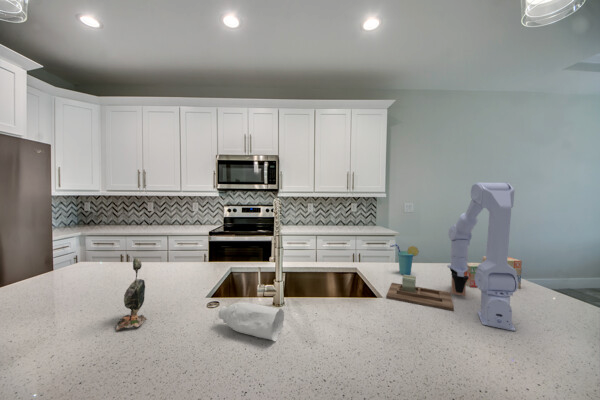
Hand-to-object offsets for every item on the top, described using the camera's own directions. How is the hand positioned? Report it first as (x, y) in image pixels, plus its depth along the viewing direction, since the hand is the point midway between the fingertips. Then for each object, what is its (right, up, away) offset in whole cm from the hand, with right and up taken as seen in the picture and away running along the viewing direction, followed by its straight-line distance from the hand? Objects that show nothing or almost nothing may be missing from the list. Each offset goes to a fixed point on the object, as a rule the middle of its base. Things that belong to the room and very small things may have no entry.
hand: (458, 289), depth 102 cm
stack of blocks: (+20, -2, +9) cm, 22 cm away
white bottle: (-78, -2, -32) cm, 84 cm away
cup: (-13, -1, +23) cm, 27 cm away
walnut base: (-18, -1, -4) cm, 18 cm away
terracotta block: (0, -2, 0) cm, 2 cm away
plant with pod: (-115, -1, -26) cm, 118 cm away
